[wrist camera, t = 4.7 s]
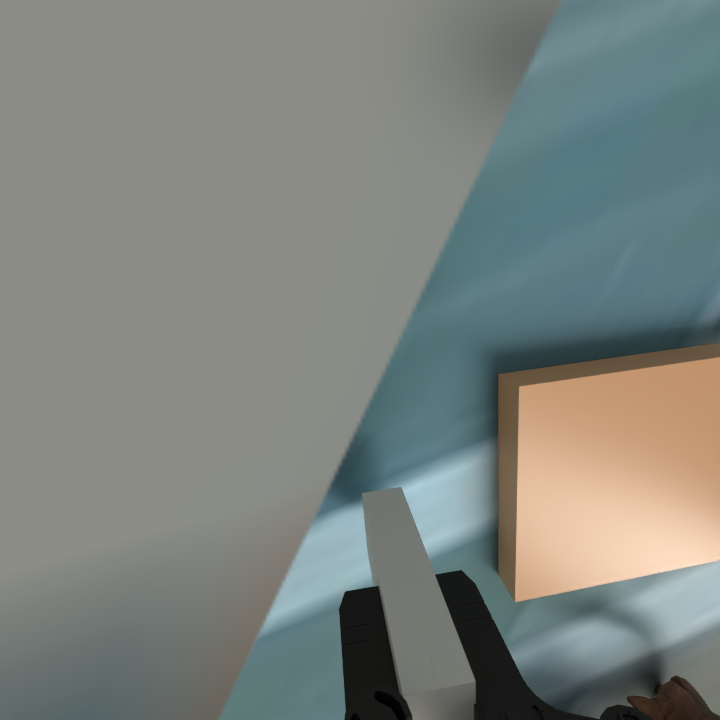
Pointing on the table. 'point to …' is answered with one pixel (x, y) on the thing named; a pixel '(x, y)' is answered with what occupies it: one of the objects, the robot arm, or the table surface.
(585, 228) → the table surface
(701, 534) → the terracotta panel
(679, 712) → the broken clay pot
